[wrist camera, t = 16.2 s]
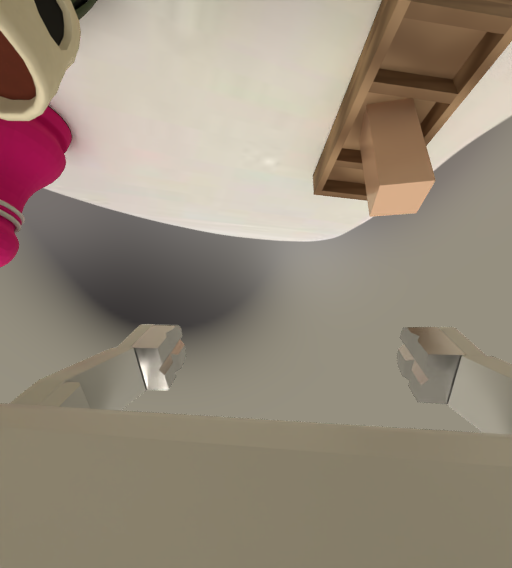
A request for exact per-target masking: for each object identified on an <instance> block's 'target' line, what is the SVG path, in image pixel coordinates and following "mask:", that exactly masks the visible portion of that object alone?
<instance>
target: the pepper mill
mask: <svg viewBox="0 0 512 568" xmlns="http://www.w3.org/2000/svg"><path fill="white" fill-rule="evenodd" d="M71 138H72V136H71V132H70V130H69V128H68V126H67V124H66V123H65V122H64V120H63V119H62V118H61V117H60V116H59V115H58V114H57V113H56V112H55V111H53V110H52V109H51V108H50V107H48V106H47V108H46V110H45V111H44V112H43V114H42V115H40V116H38V117H36V118H34V119H32V120H30V121H7V120H4V119H0V267H2V266H4V265H6V264H8V263H9V262H10V261H11V260H12V259H13V258H14V257H15V255H16V253H17V251H18V249H19V242H18V239H17V237H16V235H15V232H19V231H20V230H21V225H22V224H23V223H24V222H25V218H24V216H23V215H22V211H23V207H24V205H25V203H26V202H27V200H28V199H29V198H30V196H32V195H33V193H35V192H36V191H38V190H40V189H41V188H43V187H45V186H47V185H49V184H51V183H52V182H54V181H55V180H56V179H57V178H58V177H59V176H60V175H61V173H62V172H63V170H64V168H65V165H66V160H65V155H64V153H65V152H66V151H67V149H68V147H69V145H70V142H71Z"/></svg>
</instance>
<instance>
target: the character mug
mask: <svg viewBox="0 0 512 568" xmlns="http://www.w3.org/2000/svg"><path fill="white" fill-rule="evenodd" d="M87 1H88V0H0V119H4V120H7V121H30V120H32V119H34V118H36V117H38V116H40V115H42V114H43V112H44V111H45V110H46V108H47V106H48V104H49V103H50V101H51V99H52V98H53V97H54V95H55V94H56V93H57V91H58V88H59V85H60V82H61V80H62V78H63V76H64V74H65V71H66V70H67V69H68V68H69V67H70V66H71V65H72V64H73V63H74V61H75V57H76V54H77V51H78V49H79V43H80V34H81V31H80V24H79V19H81V18H82V17H83V16H84V15H85V14H86V13H87V12H88V11H89V10H90V9H91V8H92V6H93V5H94V4H95V3H96V1H97V0H89V1H88V2H87Z"/></svg>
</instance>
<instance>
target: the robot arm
mask: <svg viewBox="0 0 512 568" xmlns="http://www.w3.org/2000/svg"><path fill="white" fill-rule="evenodd" d="M181 337H182V331H181V327H180V326H179V325H156V324H155V325H154V324H143V325H140V326H138V328H136V329H135V330H134V331H133V332H132V333H131V334H130V335H129V336H128V337H127V338H126V339H125V340H124V341H123V342H122V343H121V344H120V345H118V347H116V348H113V347H112V348H110V349H108V350H106V351H103V352H101V353H99V354H96V355H94V356H92V357H90V358H87V359H85V360H83V361H81V362H78V363H76V364H74V365H71V366H69V367H67V368H65V369H62V370H60V371H58V372H55V373H53V374H51V375H49V376H46V377H44V378H42V379H39V380H38V381H37V382H36V383H35V384H33V385H32V386H31V387H29V388H28V389H27V390H25V391H24V392H23V393H22V394H20V395H19V396H18V397H17V398H15V399H14V400H13V401H12V402H10V403H9V404H8V403H0V568H512V364H510V363H508V362H505V361H503V360H501V359H498V358H496V357H493V356H486V355H485V354H484V353H483V352H482V351H481V350H480V349H478V348H477V347H476V346H475V345H474V344H473V343H472V342H471V341H470V340H469V339H467V338H466V337H465V336H464V335H463V334H462V333H461V332H459V331H458V330H457V329H456V328H454V327H407V328H403V329H402V331H401V335H400V339H401V340H402V342H403V343H404V344H403V345H402V346H401V347H399V349H398V353H397V361H398V367H399V369H400V372H401V374H402V376H403V377H405V378H406V379H408V380H409V385H408V386H409V388H410V390H411V392H412V393H413V395H414V397H415V398H416V400H417V402H424V403H436V404H448V406H449V407H450V408H451V409H453V410H454V411H455V412H457V413H458V414H459V415H461V416H462V417H463V418H464V419H466V420H467V421H468V422H470V423H471V424H472V425H473V426H475V427H476V428H477V429H479V430H480V431H481V432H483V433H480V432H463V431H448V430H432V429H415V428H414V429H413V428H397V427H381V426H366V425H349V424H333V423H317V422H301V421H283V420H268V419H250V418H235V417H219V416H203V415H187V414H170V413H154V412H138V411H122V409H123V408H124V407H126V406H127V405H128V404H130V403H131V402H132V401H134V400H135V399H136V398H138V397H139V396H140V395H142V394H143V393H144V392H145V391H146V390H169V388H170V386H171V385H172V383H173V381H174V380H175V378H176V374H175V372H176V371H178V370H180V369H181V368H182V366H183V364H184V361H185V356H186V350H185V344H183V343H182V341H181V340H180V338H181Z"/></svg>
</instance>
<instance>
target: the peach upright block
mask: <svg viewBox="0 0 512 568" xmlns="http://www.w3.org/2000/svg"><path fill="white" fill-rule="evenodd" d="M359 143H360V150H361V157H362V165H363V172H364V179H365V186H366V193H367V201H368V208H369V215H370V216H384V215H397V214H411V213H417V211H418V209H419V208H420V206H421V204H422V203H423V201H424V199H425V197H426V196H427V194H428V192H429V191H430V189H431V187H432V186H433V184H434V182H435V177H434V173H433V169H432V166H431V162H430V158H429V155H428V151H427V148H426V144H425V140H424V137H423V133H422V130H421V126H420V122H419V119H418V115H417V112H416V108H415V104H414V101H413V99H412V98H405V99H399V100H392V101H386V102H380V103H373V104H367V105H366V109H365V115H364V120H363V125H362V130H361V136H360V141H359Z"/></svg>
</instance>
